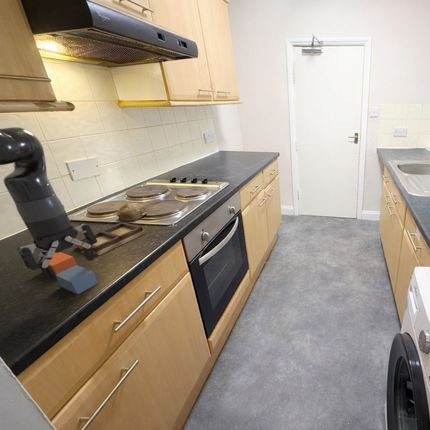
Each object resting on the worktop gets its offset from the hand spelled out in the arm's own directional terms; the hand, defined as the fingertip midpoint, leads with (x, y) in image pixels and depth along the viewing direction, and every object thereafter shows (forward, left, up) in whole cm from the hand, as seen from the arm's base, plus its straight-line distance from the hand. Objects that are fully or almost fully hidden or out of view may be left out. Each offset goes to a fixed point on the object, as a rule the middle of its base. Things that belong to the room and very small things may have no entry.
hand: (72, 268), depth 71 cm
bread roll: (+35, +31, -6) cm, 47 cm away
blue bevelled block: (0, 0, -6) cm, 6 cm away
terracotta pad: (+2, +14, -6) cm, 15 cm away
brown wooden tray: (+19, +18, -6) cm, 27 cm away
